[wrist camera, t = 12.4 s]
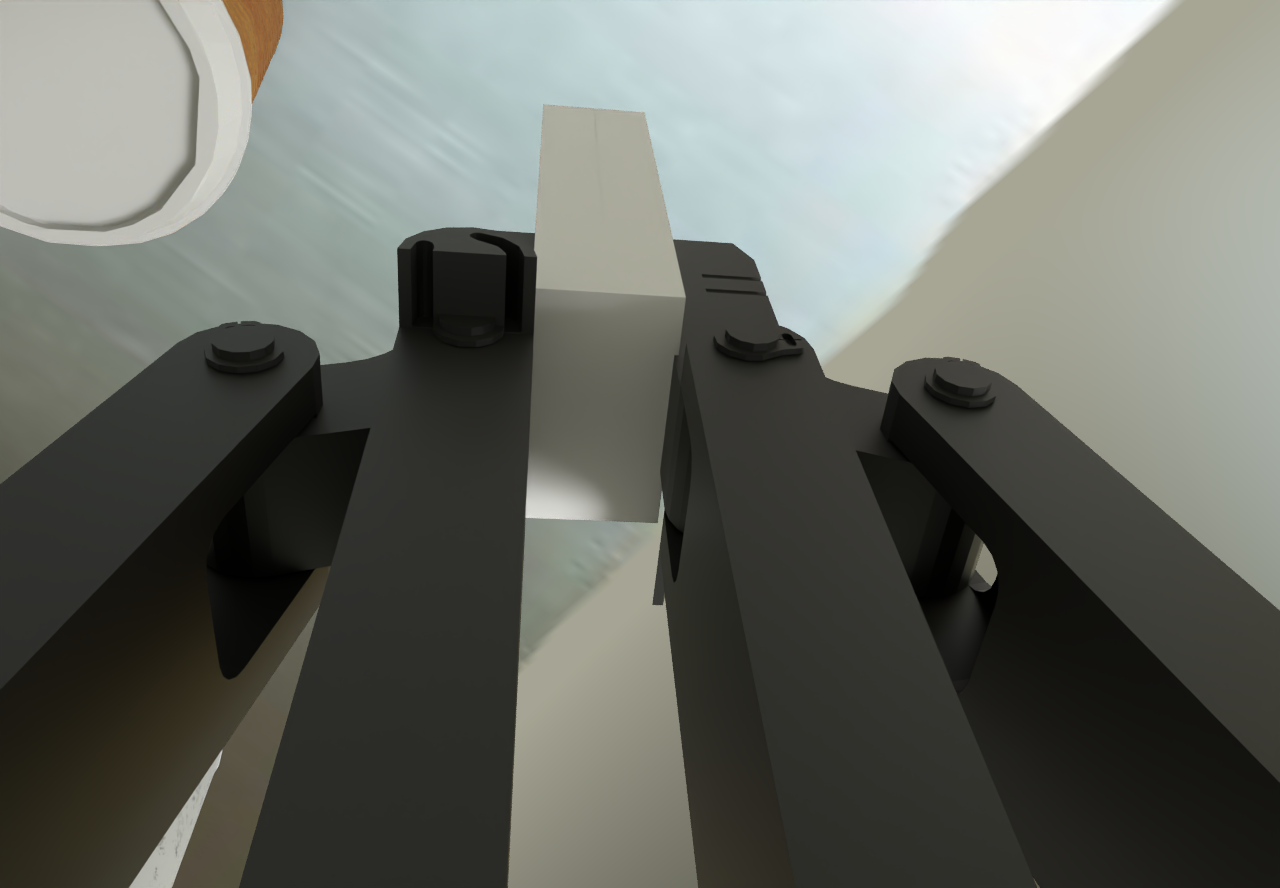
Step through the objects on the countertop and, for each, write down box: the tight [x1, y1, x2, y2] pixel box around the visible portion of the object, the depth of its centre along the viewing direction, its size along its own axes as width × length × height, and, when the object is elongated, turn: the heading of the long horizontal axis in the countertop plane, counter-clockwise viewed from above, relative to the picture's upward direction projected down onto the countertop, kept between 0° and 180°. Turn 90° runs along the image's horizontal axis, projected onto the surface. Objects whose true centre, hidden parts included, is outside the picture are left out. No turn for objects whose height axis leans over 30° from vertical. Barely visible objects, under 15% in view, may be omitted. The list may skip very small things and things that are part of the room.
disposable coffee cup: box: [0, 0, 283, 246], centre depth 32 cm, size 10×10×12 cm
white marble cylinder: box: [129, 751, 222, 888], centre depth 51 cm, size 10×10×12 cm
